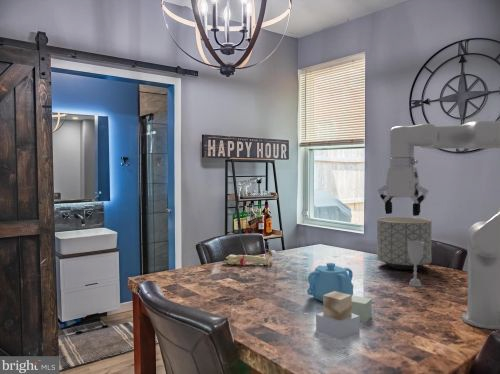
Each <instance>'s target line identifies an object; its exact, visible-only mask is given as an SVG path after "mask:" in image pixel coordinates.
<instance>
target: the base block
mask: <svg viewBox="0 0 500 374" xmlns="http://www.w3.org/2000/svg"><path fill="white" fill-rule="evenodd" d="M360 324H361V321H360V316H358V315H355V314H353V313H352V315H351V316H349V317H347V318H345V319H342V320H337V319H334V318H331V317H327V316H324V315H323V311H322V312H319V313H315V330H316V331H318V332H320V333H323V334H325V335H327V336H330V337H332V338H335V339H337V340H342V339H344V338H348V337H350V336H352V335H354V334H357V333H360V327H361V326H360Z"/></svg>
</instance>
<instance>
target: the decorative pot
mask: <svg viewBox="0 0 500 374" xmlns="http://www.w3.org/2000/svg"><path fill="white" fill-rule="evenodd" d="M353 277H354V276H353V271H352V269H350V268H348V267H341V266H337V265H336V263H335V262H327V263H326V265H318V266H316V268H315V269H314V271H311V272H310V273H309V274H308V276H307V280H308V284H309V286H308V288H307V291H306V293H307V295H308V296H312V297H313V298H314V299H316V300H318V301H320V302H323V295H325V294H328V293H331V292H333V291H336V292H341V293H345V294H349V295H352V296H354V284H353V282H352V280H353Z"/></svg>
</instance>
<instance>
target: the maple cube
mask: <svg viewBox="0 0 500 374" xmlns="http://www.w3.org/2000/svg"><path fill="white" fill-rule="evenodd" d="M352 297H353V295H349V294H345V293H341V292H336V291H333V292H331V293H328V294H325V295H323V301H322V304H323V305H322V312H323V315H324V316H327V317H331V318H334V319H337V320H342V319H345V318H347V317H349V316H351V315H352Z"/></svg>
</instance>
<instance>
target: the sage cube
mask: <svg viewBox="0 0 500 374" xmlns="http://www.w3.org/2000/svg"><path fill="white" fill-rule="evenodd" d="M372 300H373V299H372V298H369V297H368V298H367V297H364V296H363V297H362V296H357V295H352V313H353V314H355V315H358V316H360V323H361V322H362V323H367V322H368V321H369V320H370V319H371V318H372V315H373V313H372V311H373V310H372V309H373V307H372V303H373V302H372Z"/></svg>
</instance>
